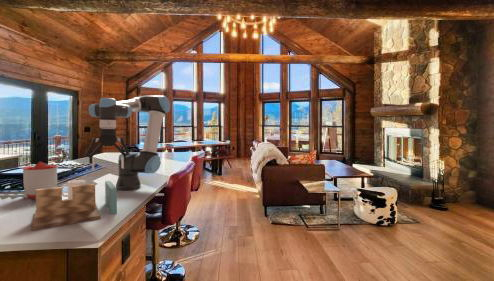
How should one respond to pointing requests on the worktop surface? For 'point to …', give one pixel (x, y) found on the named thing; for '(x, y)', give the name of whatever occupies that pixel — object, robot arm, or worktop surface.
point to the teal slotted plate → (111, 197)
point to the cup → (70, 184)
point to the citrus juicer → (39, 178)
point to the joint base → (65, 219)
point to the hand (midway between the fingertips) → (108, 169)
